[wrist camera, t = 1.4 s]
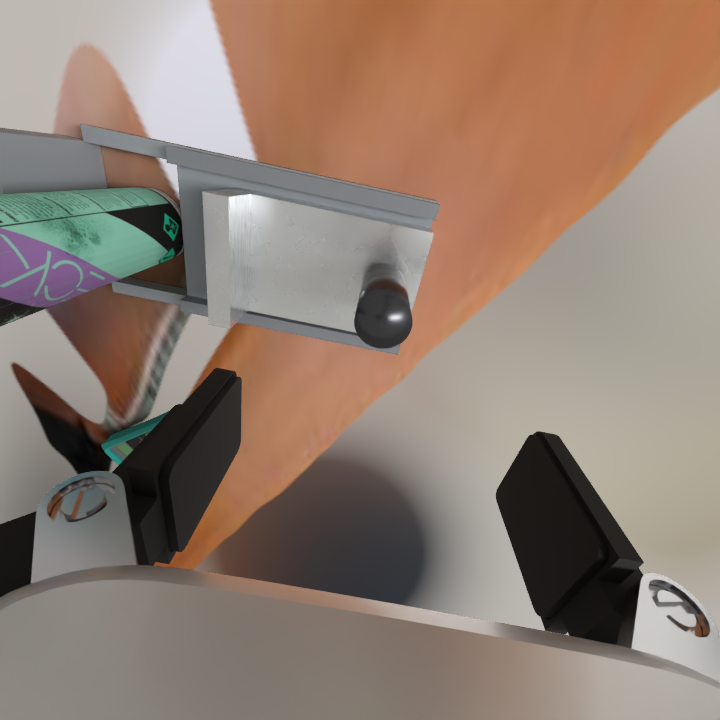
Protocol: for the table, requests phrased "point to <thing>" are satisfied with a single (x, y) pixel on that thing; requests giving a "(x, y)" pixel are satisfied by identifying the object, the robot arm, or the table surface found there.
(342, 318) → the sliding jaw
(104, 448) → the digital multimeter
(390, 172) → the table surface
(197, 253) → the vise frame
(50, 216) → the spray can
